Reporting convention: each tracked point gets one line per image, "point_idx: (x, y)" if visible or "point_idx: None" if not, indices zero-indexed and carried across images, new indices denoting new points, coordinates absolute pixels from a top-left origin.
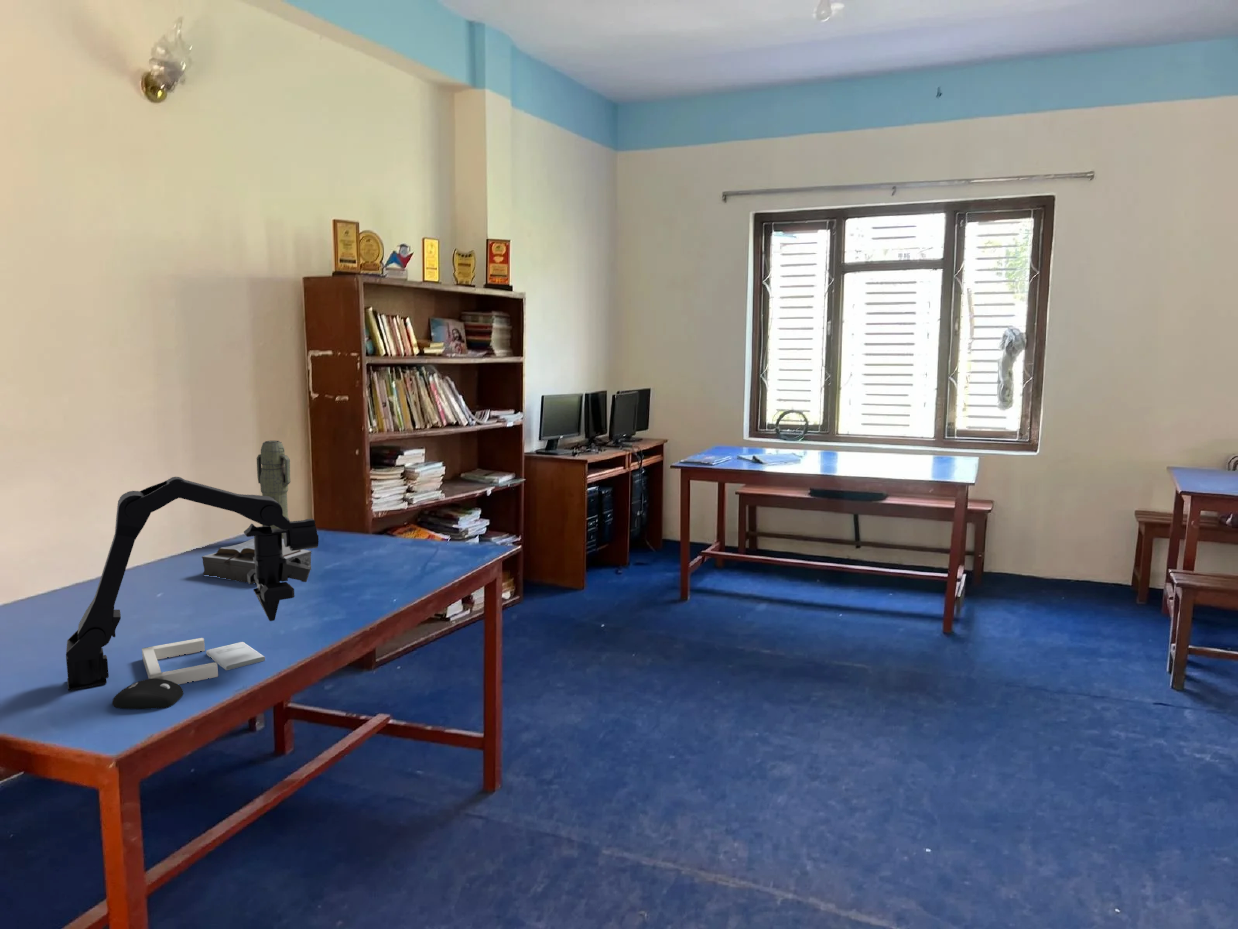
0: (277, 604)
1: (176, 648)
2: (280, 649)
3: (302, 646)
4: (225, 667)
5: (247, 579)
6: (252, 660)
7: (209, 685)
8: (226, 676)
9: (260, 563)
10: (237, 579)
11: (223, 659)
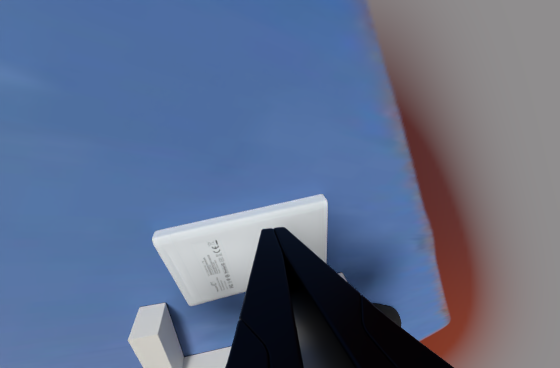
0: (395, 331)
1: (173, 357)
2: (259, 140)
3: (275, 55)
4: None
5: None
6: (326, 226)
7: (367, 280)
8: (351, 261)
9: None
10: None
11: None
